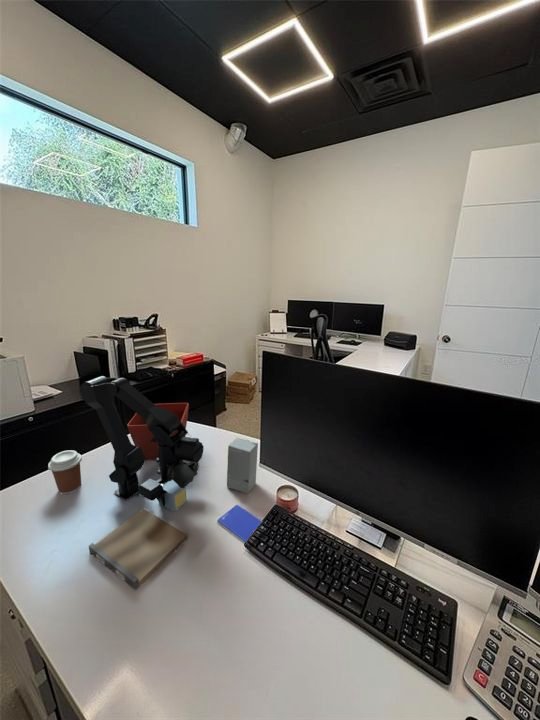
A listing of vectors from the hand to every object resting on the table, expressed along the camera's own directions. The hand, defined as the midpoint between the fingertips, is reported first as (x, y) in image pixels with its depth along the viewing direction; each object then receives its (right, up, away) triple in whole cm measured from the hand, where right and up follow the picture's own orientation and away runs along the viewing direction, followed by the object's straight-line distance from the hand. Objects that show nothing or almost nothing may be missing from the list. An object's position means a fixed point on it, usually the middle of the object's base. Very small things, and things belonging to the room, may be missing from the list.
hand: (172, 498), depth 93 cm
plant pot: (-13, +6, +27) cm, 31 cm away
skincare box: (+21, +1, +9) cm, 23 cm away
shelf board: (-3, -5, -15) cm, 16 cm away
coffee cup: (-36, +1, +6) cm, 36 cm away
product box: (0, -1, 0) cm, 1 cm away
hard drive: (+23, -5, -8) cm, 24 cm away
